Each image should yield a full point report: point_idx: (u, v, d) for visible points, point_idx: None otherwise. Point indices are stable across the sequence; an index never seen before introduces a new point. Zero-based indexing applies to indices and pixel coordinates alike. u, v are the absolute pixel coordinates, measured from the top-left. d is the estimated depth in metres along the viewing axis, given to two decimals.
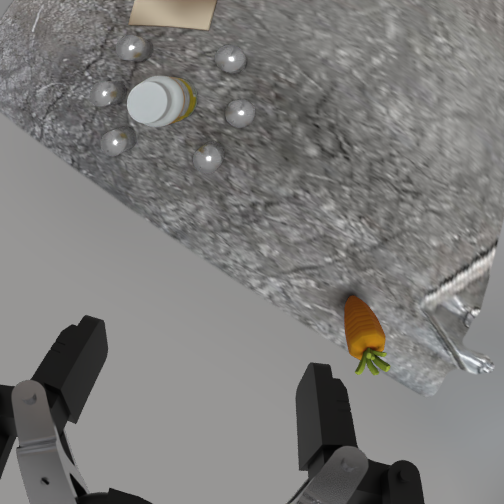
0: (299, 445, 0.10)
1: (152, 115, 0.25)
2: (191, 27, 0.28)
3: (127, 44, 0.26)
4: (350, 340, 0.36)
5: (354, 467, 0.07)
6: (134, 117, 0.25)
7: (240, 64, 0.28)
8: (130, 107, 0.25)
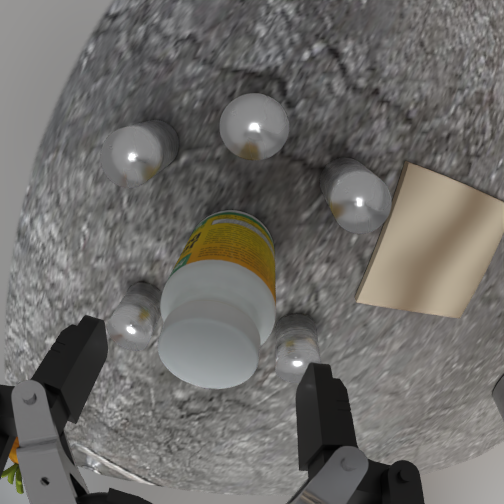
0: (299, 445, 0.10)
1: (177, 365, 0.12)
2: (367, 278, 0.20)
3: (369, 203, 0.14)
4: None
5: (354, 467, 0.07)
6: (168, 333, 0.11)
7: (286, 379, 0.20)
8: (193, 327, 0.11)
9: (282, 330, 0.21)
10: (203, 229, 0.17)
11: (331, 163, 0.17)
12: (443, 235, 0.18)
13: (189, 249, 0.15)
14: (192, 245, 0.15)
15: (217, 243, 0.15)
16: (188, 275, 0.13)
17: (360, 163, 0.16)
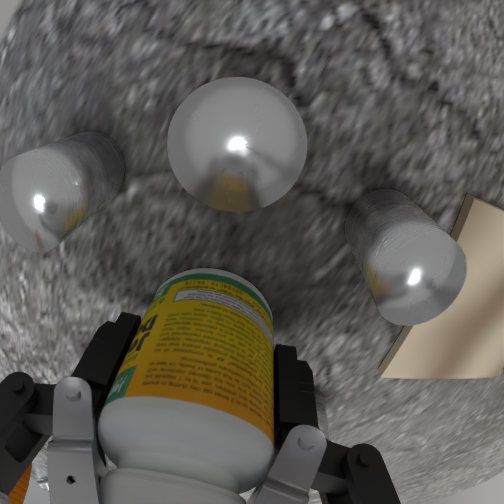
0: None
1: None
2: (398, 350, 0.14)
3: (433, 282, 0.08)
4: None
5: (310, 446, 0.08)
6: None
7: None
8: None
9: None
10: (161, 309, 0.10)
11: (365, 199, 0.10)
12: (499, 292, 0.12)
13: (135, 353, 0.09)
14: (141, 344, 0.09)
15: (177, 352, 0.08)
16: (126, 423, 0.06)
17: (411, 201, 0.10)
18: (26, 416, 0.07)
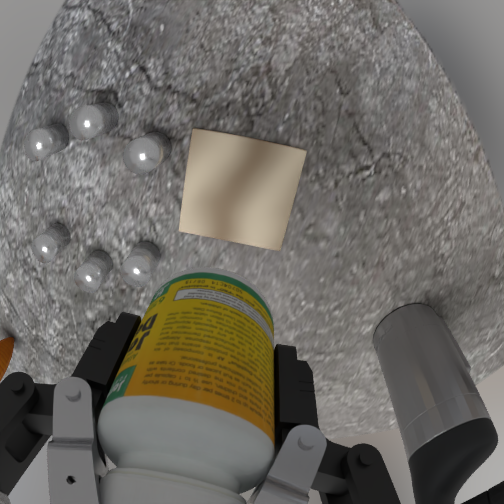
0: None
1: None
2: (182, 212, 0.29)
3: (143, 155, 0.23)
4: None
5: (310, 446, 0.08)
6: None
7: (129, 283, 0.29)
8: None
9: (132, 251, 0.31)
10: (161, 308, 0.10)
11: None
12: (234, 177, 0.28)
13: (135, 352, 0.09)
14: (141, 343, 0.09)
15: (177, 351, 0.08)
16: (125, 422, 0.06)
17: (157, 134, 0.25)
18: (26, 416, 0.07)
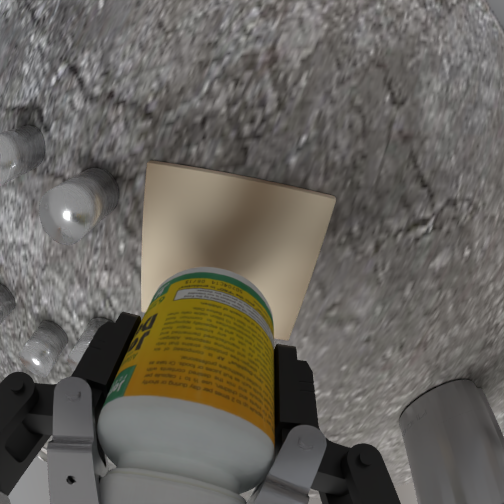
0: None
1: None
2: (143, 287, 0.19)
3: (65, 216, 0.13)
4: None
5: (310, 446, 0.08)
6: None
7: None
8: None
9: None
10: (161, 308, 0.10)
11: None
12: (218, 241, 0.17)
13: (135, 352, 0.09)
14: (141, 343, 0.09)
15: (177, 351, 0.08)
16: (125, 423, 0.06)
17: (94, 173, 0.15)
18: (26, 416, 0.07)
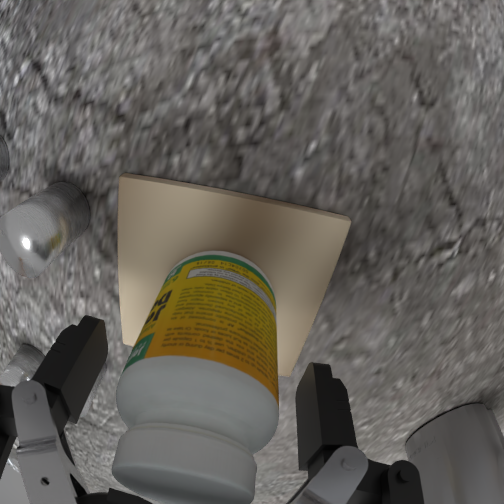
0: (299, 445, 0.10)
1: (143, 491, 0.07)
2: (123, 318, 0.16)
3: (23, 245, 0.10)
4: None
5: (354, 467, 0.07)
6: (122, 470, 0.06)
7: None
8: (155, 471, 0.06)
9: None
10: (175, 285, 0.12)
11: None
12: None
13: (153, 322, 0.10)
14: (158, 315, 0.10)
15: (192, 319, 0.09)
16: (146, 381, 0.08)
17: (59, 189, 0.12)
18: None
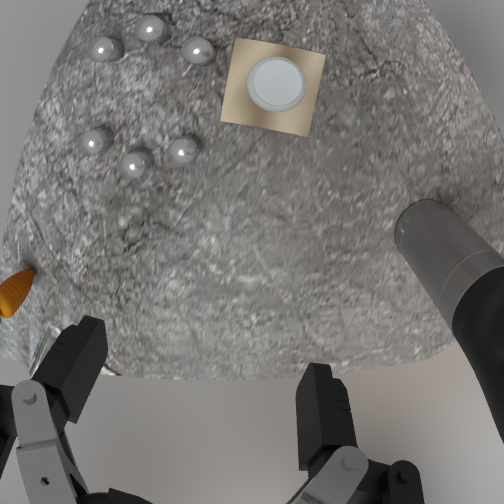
0: (299, 445, 0.10)
1: (262, 89, 0.23)
2: (223, 104, 0.32)
3: (198, 48, 0.26)
4: None
5: (354, 467, 0.07)
6: (261, 68, 0.22)
7: (174, 163, 0.32)
8: (273, 63, 0.22)
9: None
10: None
11: None
12: None
13: None
14: None
15: None
16: (265, 59, 0.24)
17: None
18: None
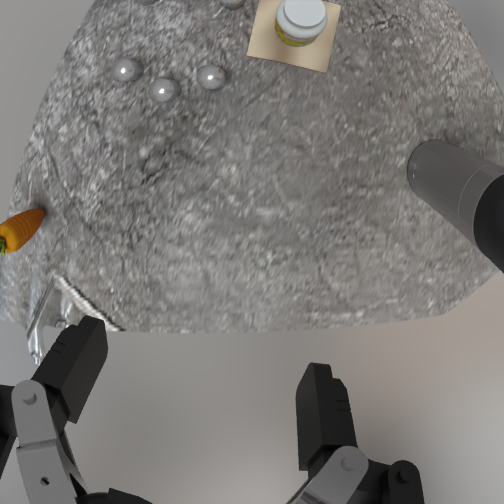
0: (299, 445, 0.10)
1: (292, 12, 0.23)
2: (250, 41, 0.32)
3: None
4: (6, 222, 0.35)
5: (354, 467, 0.07)
6: None
7: (203, 86, 0.32)
8: None
9: None
10: None
11: None
12: None
13: None
14: None
15: None
16: None
17: None
18: None
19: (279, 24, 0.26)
